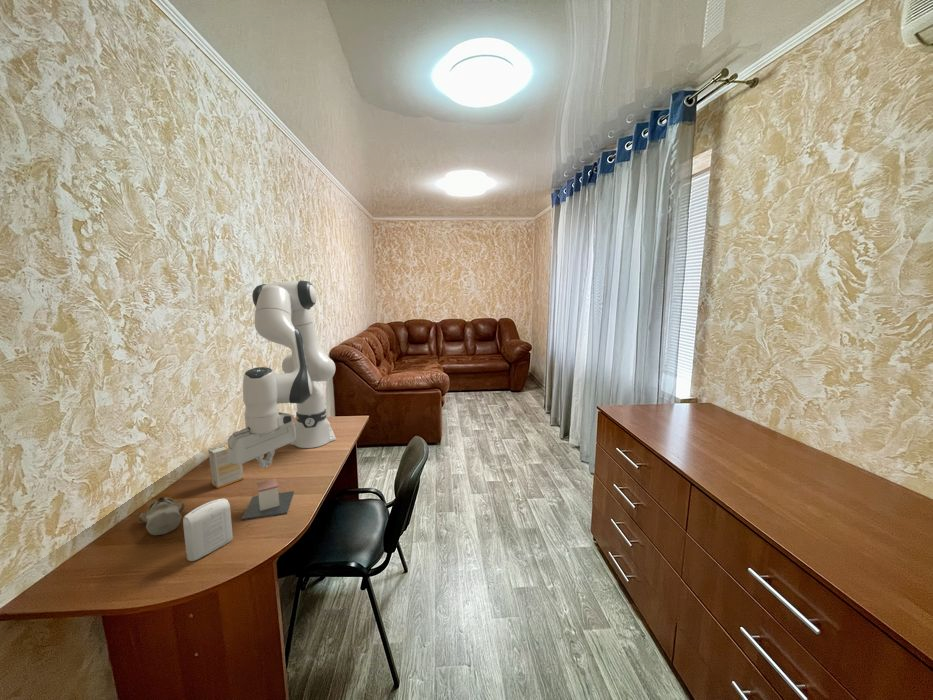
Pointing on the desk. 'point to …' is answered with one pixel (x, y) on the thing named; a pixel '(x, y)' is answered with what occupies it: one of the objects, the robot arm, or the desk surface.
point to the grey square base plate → (283, 507)
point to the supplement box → (223, 467)
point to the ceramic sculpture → (162, 516)
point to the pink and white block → (268, 494)
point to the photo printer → (207, 528)
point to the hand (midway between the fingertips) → (265, 466)
